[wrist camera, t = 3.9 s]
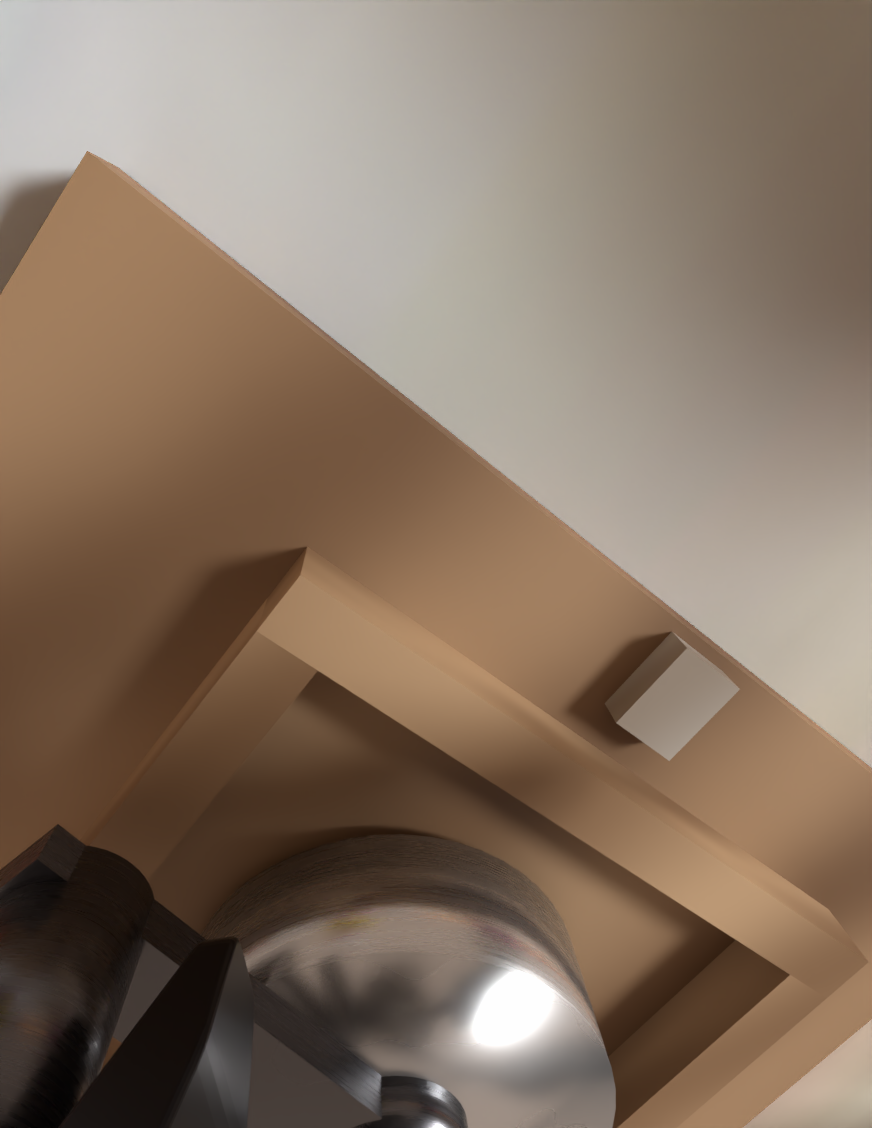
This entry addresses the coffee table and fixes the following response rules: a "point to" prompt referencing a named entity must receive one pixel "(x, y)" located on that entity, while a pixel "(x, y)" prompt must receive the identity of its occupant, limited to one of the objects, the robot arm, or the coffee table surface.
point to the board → (389, 665)
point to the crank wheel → (314, 986)
